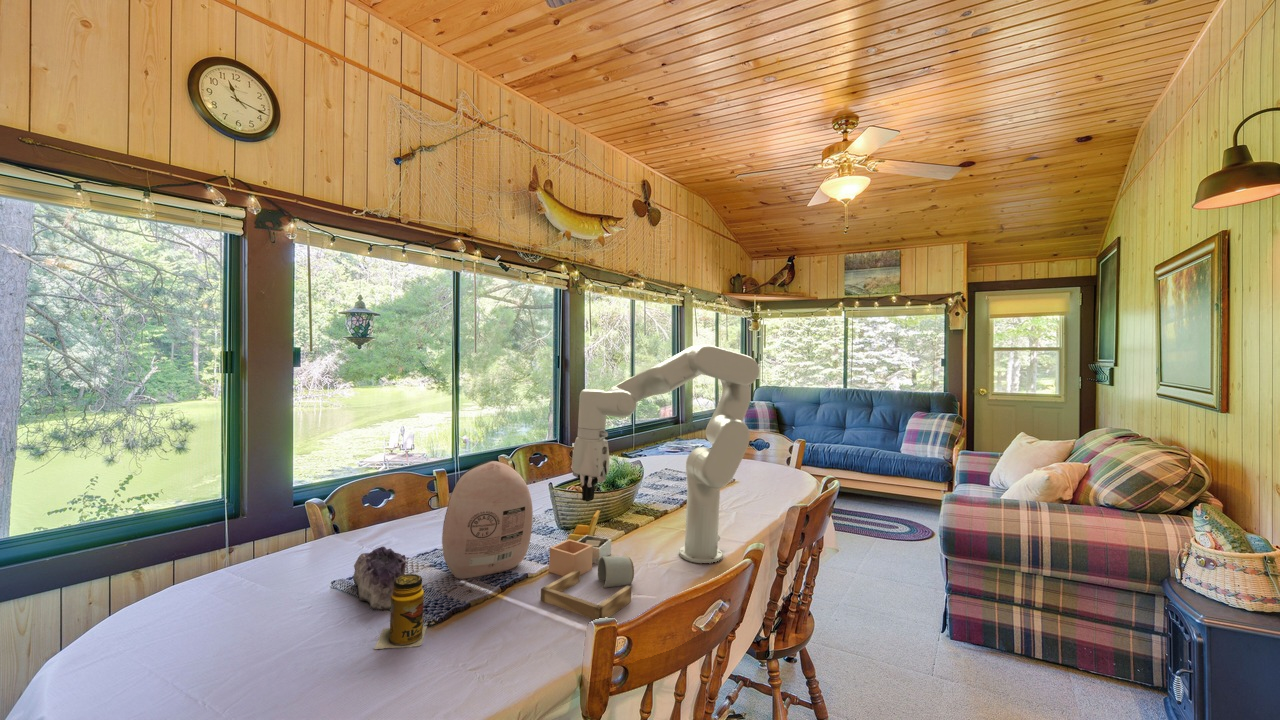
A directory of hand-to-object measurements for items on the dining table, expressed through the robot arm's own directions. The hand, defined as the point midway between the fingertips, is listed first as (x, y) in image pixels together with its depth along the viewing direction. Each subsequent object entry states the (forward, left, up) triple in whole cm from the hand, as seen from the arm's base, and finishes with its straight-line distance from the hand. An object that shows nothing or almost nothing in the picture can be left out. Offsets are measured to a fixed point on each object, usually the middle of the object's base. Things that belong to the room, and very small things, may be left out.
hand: (587, 499), depth 147 cm
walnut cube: (-3, 0, -17) cm, 17 cm away
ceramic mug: (+6, +13, -18) cm, 23 cm away
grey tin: (-3, 0, -18) cm, 18 cm away
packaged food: (+21, -16, -18) cm, 32 cm away
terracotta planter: (+8, +1, -18) cm, 19 cm away
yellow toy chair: (-13, -11, -18) cm, 25 cm away
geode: (+42, -28, -18) cm, 53 cm away
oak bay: (+18, +14, -18) cm, 29 cm away
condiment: (+52, -7, -18) cm, 55 cm away
